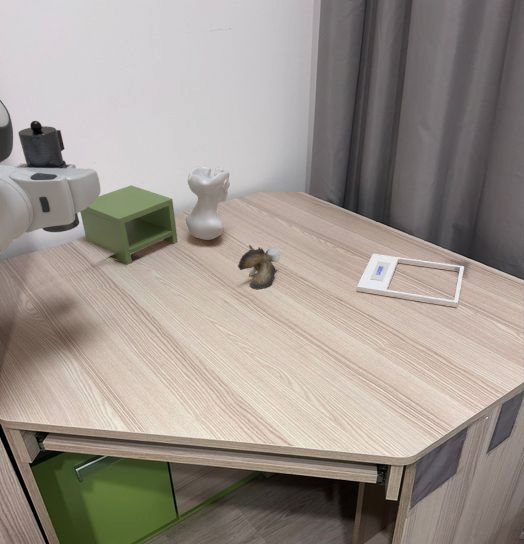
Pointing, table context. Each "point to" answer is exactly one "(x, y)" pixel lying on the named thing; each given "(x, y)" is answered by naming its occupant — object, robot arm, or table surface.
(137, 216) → the nightstand
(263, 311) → the table surface
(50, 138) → the coffee pot
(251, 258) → the eagle figurine
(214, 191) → the white hourglass figure
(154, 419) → the table surface
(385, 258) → the photo frame
